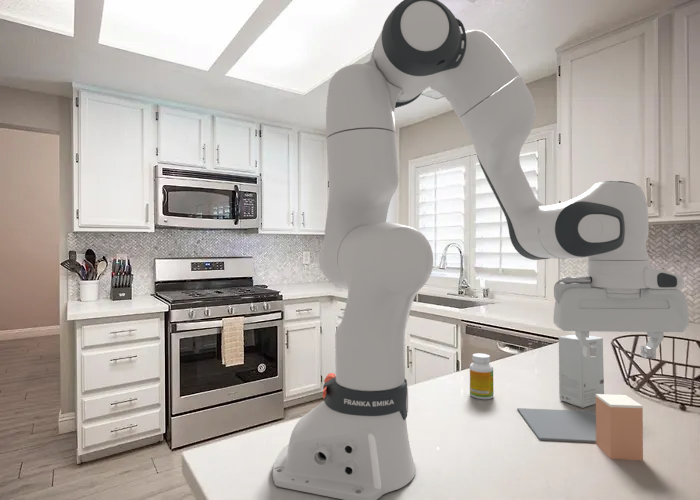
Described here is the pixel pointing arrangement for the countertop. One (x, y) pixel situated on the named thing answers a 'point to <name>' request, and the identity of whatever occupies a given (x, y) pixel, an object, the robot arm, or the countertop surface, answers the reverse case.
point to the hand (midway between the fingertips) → (618, 357)
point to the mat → (561, 424)
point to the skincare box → (580, 371)
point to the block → (619, 426)
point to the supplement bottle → (481, 377)
